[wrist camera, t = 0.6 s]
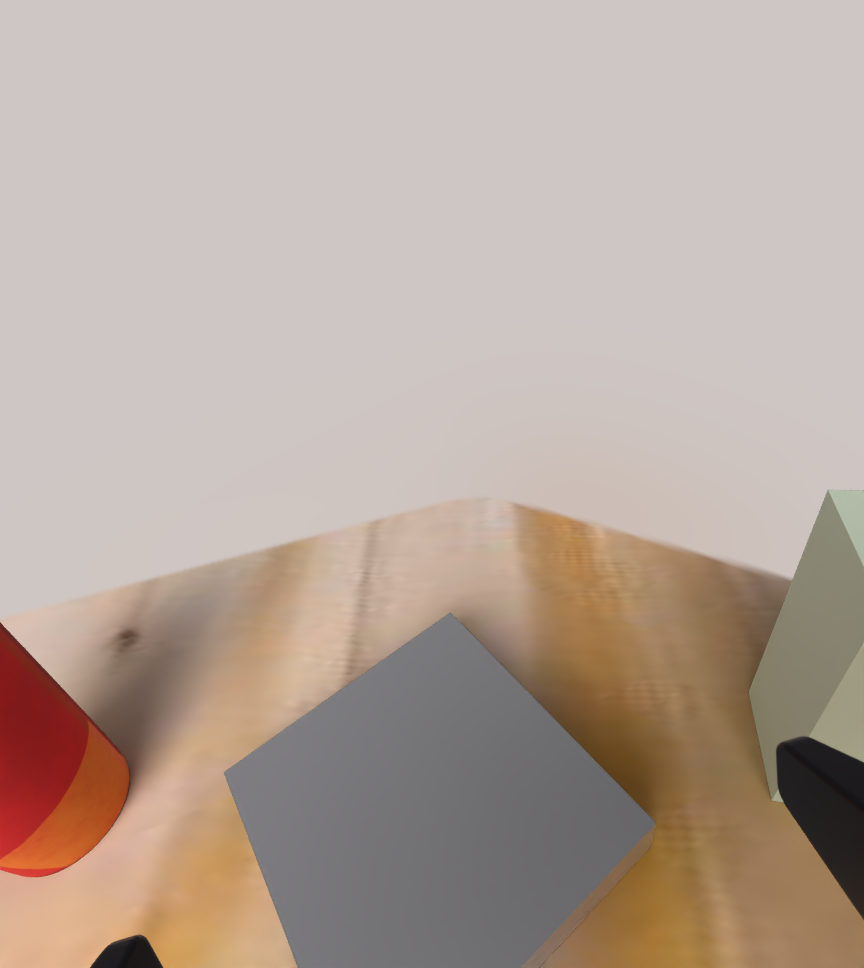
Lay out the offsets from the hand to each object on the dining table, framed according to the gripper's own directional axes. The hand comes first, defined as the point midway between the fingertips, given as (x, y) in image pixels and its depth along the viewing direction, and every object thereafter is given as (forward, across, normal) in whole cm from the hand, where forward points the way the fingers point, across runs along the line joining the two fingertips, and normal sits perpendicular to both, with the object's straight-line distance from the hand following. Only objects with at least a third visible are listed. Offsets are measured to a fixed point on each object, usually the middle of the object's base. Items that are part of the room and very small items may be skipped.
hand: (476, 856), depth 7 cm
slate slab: (+12, +2, +12) cm, 17 cm away
